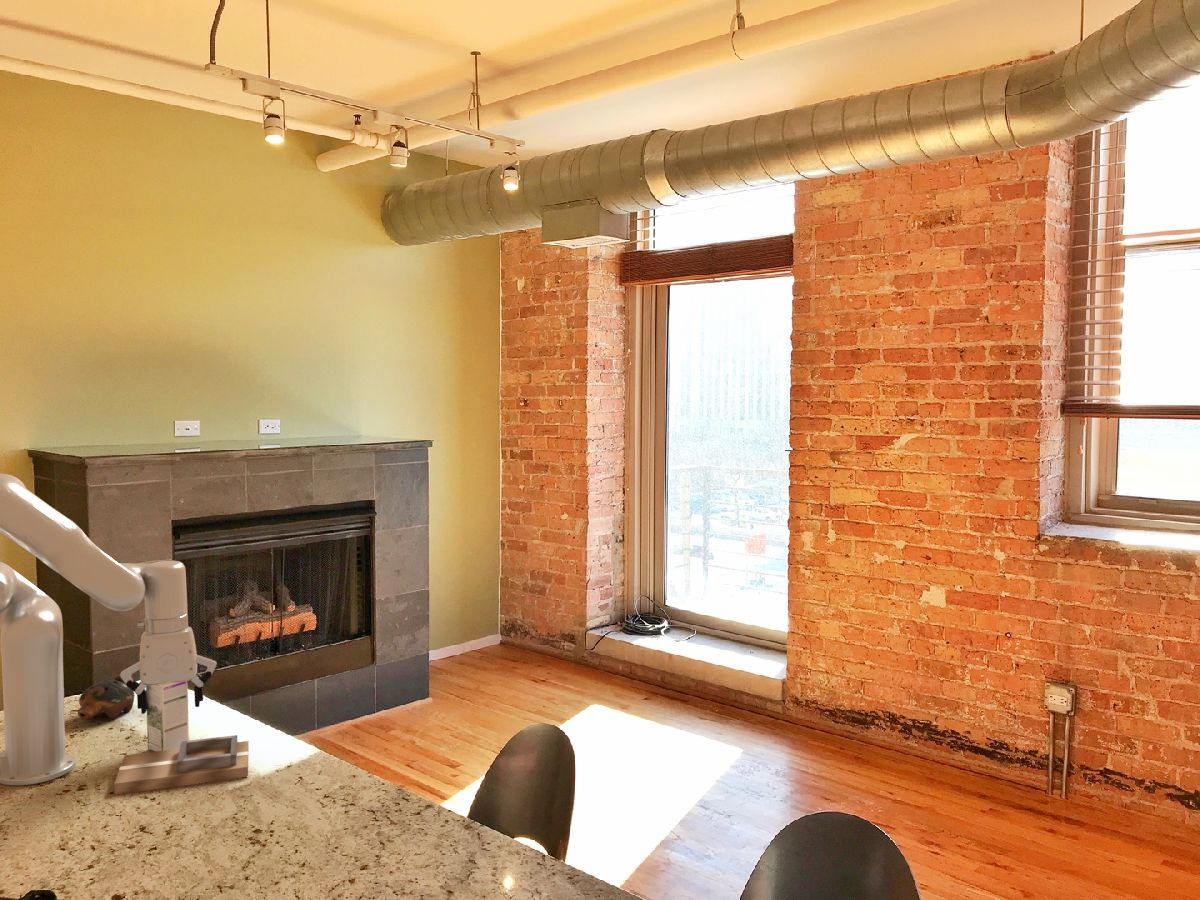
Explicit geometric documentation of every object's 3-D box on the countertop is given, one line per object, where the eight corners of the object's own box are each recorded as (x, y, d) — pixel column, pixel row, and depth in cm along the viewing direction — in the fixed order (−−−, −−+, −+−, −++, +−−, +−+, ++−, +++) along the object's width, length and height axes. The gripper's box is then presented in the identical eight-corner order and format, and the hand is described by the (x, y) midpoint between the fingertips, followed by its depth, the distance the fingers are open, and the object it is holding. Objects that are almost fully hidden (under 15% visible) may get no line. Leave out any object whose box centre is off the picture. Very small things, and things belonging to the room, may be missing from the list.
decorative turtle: (149, 704, 204) (148, 670, 203) (107, 733, 189) (106, 697, 188) (108, 699, 205) (108, 666, 204) (63, 729, 190) (62, 693, 189)
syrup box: (190, 747, 180) (189, 676, 180) (162, 757, 176) (161, 684, 175) (173, 741, 184) (172, 671, 183) (145, 750, 179) (144, 678, 178)
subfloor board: (114, 794, 159) (114, 772, 159) (124, 765, 171) (124, 745, 171) (247, 777, 167) (247, 756, 167) (248, 750, 179) (248, 731, 179)
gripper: (115, 633, 171) (119, 721, 173) (213, 624, 177) (217, 708, 179) (120, 623, 178) (125, 707, 180) (215, 615, 184) (219, 696, 186)
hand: (171, 708), depth 179 cm, fingers open, 9 cm apart
